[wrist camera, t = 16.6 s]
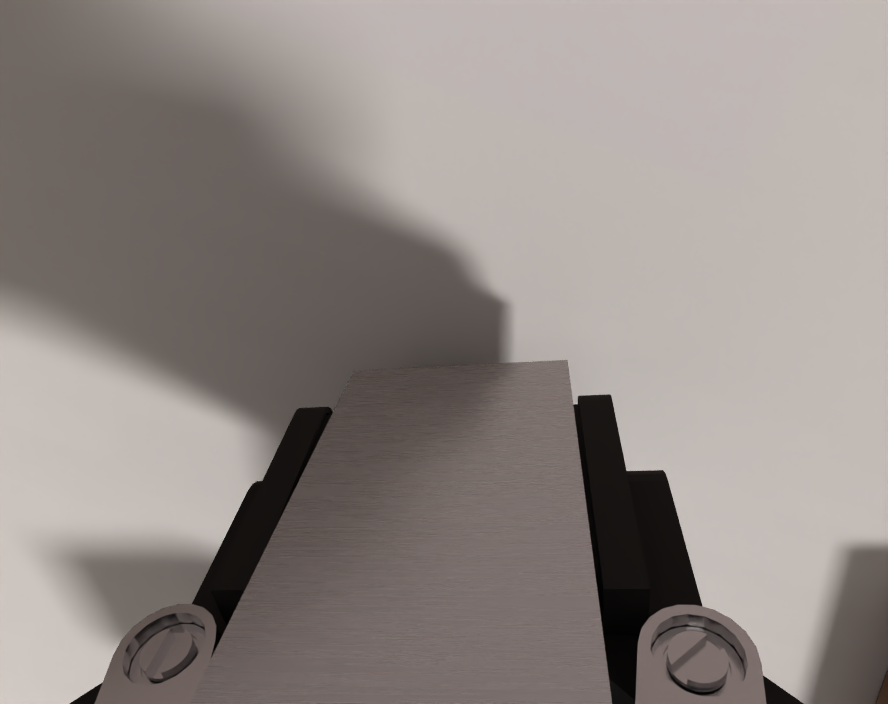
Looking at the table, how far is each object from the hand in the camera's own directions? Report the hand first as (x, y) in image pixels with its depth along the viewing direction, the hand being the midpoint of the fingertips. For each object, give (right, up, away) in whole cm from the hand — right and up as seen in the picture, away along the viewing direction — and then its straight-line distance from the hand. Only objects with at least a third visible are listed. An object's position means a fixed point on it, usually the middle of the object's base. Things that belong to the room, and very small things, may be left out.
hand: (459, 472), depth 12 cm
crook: (+4, -7, +5) cm, 10 cm away
